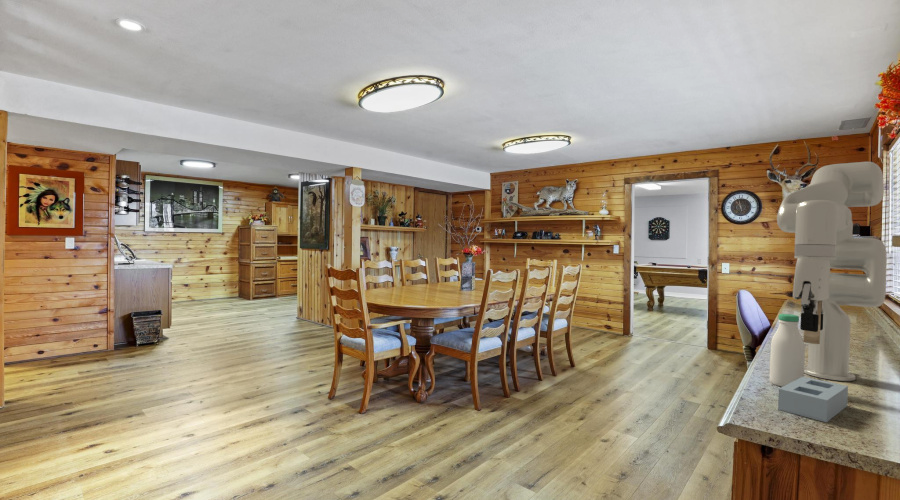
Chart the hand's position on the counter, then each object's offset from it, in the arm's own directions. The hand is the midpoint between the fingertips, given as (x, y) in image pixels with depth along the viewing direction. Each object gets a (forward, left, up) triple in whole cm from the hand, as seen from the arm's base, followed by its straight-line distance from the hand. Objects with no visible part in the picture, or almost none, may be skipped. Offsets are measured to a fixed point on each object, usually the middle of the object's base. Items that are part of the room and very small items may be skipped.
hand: (811, 329), depth 104 cm
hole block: (-4, 0, -20) cm, 20 cm away
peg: (0, 0, -3) cm, 3 cm away
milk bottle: (-20, -10, -20) cm, 30 cm away
